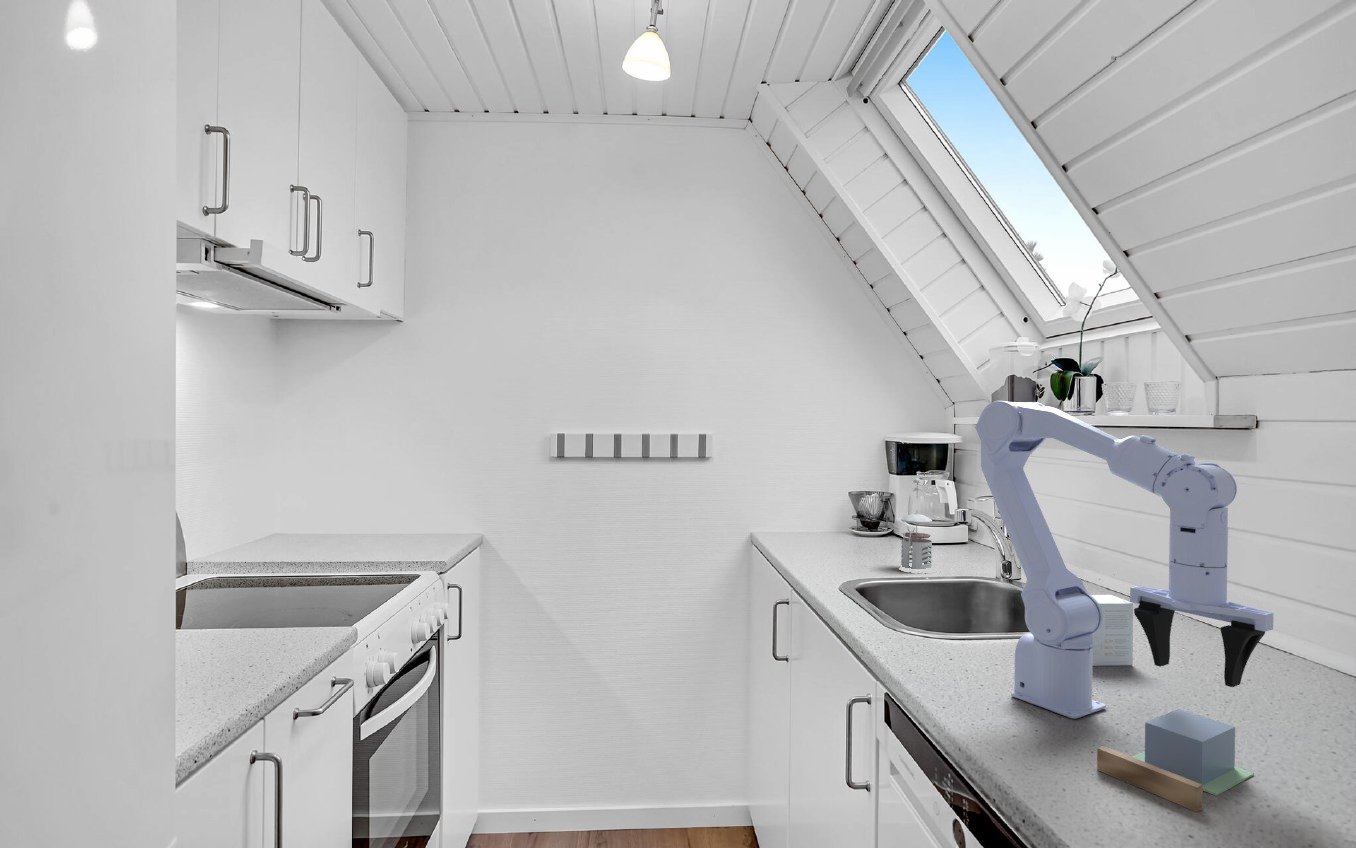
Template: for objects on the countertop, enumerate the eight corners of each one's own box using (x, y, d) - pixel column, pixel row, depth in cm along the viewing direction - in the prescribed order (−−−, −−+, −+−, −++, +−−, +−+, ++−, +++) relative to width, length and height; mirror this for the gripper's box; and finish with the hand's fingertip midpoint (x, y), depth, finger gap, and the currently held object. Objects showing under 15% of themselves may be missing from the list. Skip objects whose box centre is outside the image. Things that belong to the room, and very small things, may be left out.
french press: (940, 570, 191) (941, 478, 191) (924, 577, 182) (925, 480, 182) (905, 565, 197) (906, 476, 197) (888, 571, 189) (889, 478, 189)
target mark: (1127, 760, 83) (1127, 758, 83) (1166, 743, 88) (1166, 742, 88) (1216, 795, 75) (1216, 793, 75) (1253, 775, 80) (1253, 773, 80)
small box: (1111, 655, 121) (1112, 594, 121) (1133, 666, 116) (1134, 602, 116) (1066, 655, 121) (1066, 594, 121) (1086, 666, 116) (1086, 602, 116)
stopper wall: (1097, 769, 81) (1097, 748, 81) (1102, 767, 81) (1103, 745, 81) (1196, 812, 72) (1196, 787, 72) (1202, 808, 73) (1202, 784, 73)
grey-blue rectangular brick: (1144, 765, 82) (1145, 722, 82) (1178, 749, 86) (1178, 709, 86) (1201, 787, 77) (1202, 742, 77) (1234, 770, 81) (1235, 727, 81)
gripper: (1117, 555, 90) (1115, 661, 90) (1253, 578, 77) (1251, 701, 77) (1147, 551, 93) (1145, 653, 93) (1282, 572, 81) (1280, 690, 81)
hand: (1195, 674), depth 86 cm, fingers open, 7 cm apart
